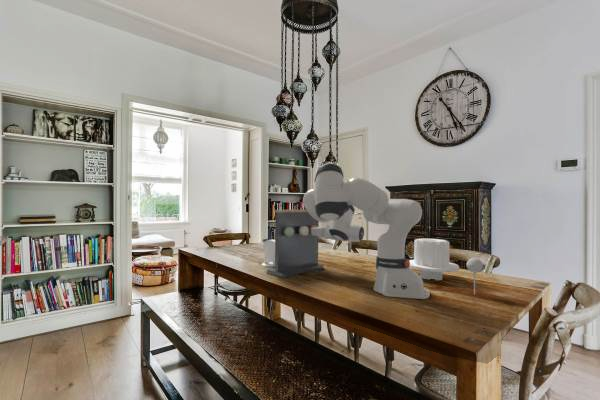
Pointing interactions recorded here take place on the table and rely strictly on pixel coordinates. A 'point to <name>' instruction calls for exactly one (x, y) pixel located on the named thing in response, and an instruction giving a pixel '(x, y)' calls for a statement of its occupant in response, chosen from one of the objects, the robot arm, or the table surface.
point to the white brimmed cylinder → (432, 258)
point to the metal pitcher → (269, 252)
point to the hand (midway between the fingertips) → (315, 229)
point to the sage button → (288, 231)
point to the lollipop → (474, 267)
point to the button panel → (294, 244)
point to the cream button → (303, 230)
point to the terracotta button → (312, 227)
